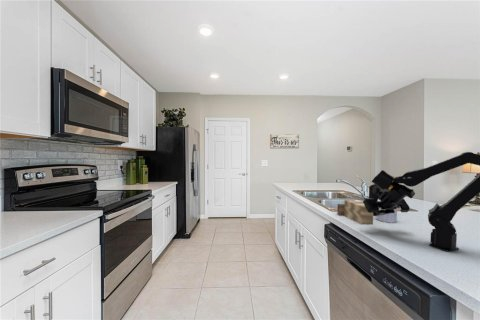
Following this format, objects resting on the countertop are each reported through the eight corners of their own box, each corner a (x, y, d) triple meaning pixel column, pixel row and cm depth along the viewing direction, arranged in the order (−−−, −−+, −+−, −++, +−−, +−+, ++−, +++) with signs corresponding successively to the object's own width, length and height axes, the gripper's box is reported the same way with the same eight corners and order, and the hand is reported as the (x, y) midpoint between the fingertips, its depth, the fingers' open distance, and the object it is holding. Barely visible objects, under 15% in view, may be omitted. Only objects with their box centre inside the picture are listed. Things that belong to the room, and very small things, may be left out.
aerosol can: (367, 215, 133) (369, 180, 132) (367, 212, 140) (368, 179, 140) (384, 217, 129) (385, 181, 129) (383, 213, 136) (384, 180, 136)
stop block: (356, 215, 131) (357, 205, 131) (340, 215, 130) (340, 205, 130) (353, 214, 134) (353, 204, 134) (337, 214, 133) (337, 204, 133)
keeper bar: (372, 224, 115) (373, 206, 115) (361, 224, 114) (362, 206, 114) (354, 215, 131) (354, 200, 130) (344, 215, 130) (344, 200, 130)
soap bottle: (372, 219, 124) (374, 174, 124) (383, 217, 128) (385, 173, 128) (389, 223, 116) (391, 175, 116) (400, 221, 120) (402, 175, 119)
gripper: (405, 181, 103) (386, 200, 114) (365, 180, 102) (351, 200, 113) (419, 201, 96) (398, 220, 107) (377, 201, 94) (360, 221, 105)
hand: (376, 215), depth 108 cm, fingers closed
